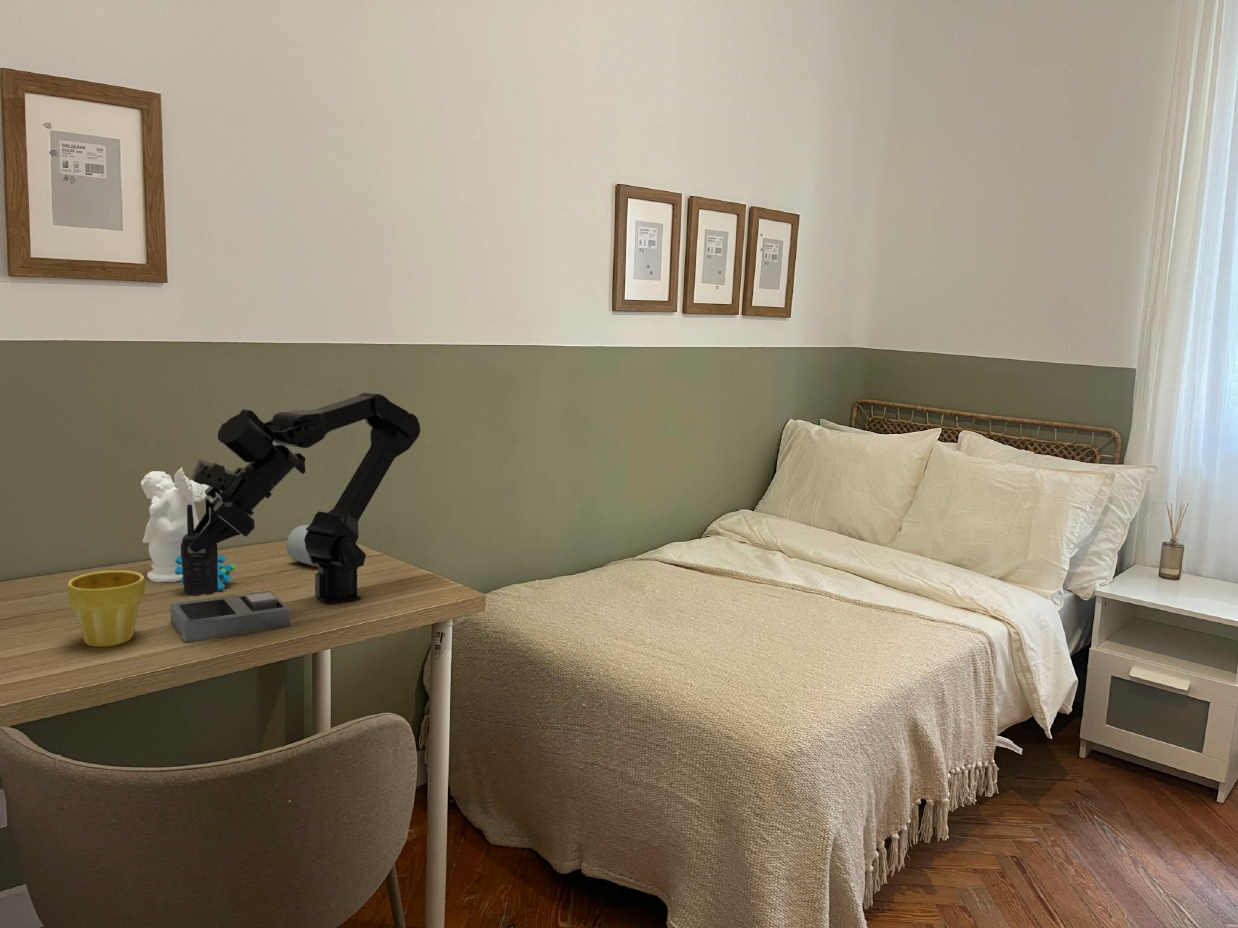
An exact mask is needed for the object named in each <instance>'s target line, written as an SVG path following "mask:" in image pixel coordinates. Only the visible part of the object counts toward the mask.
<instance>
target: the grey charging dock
mask: <svg viewBox="0 0 1238 928" xmlns="http://www.w3.org/2000/svg"><path fill="white" fill-rule="evenodd" d="M269 592H270V593H271V594H272V595H274V596H275V597H276V598H277V608H274V609H267V610H260V611H252V610H251V609H250V608H249V607H248V606H247V605H246V595H254V594H261V593H269ZM169 605H170V606H169V607H170V608H169V609H170V622H171V624H172V625H173V626H174V628H175V629H176V631H177V632H178V634H179V636H180V637H181V638H182V641H184V643H192V642H200V641H204V640H205V641H207V640H211V639H218V638H219V639H220V638H224V637H230V635H231V636H236V635H237V636H239V635H243V634H242V633H245V634H250V633H251V634H252V633H256V632H263V631H262V630H265V631H269V629H271V630H276V629H282V628H283V627H284V628H291V609H290V608H289V606H288V605H286V604H285V603H284V602H283V601H282V600H281V599H280V598H279V597H278V596H276V594H275V593H273V591H272V590H264V591H256V592H247V593H242V594H241V593H240V594H234V595H233V594H232V595H227V596H226V595H225V596H218V597H217V596H216V597H210V598H202V599H193V600H185V601H180V602H171V603H169ZM284 628H283V629H284Z"/></svg>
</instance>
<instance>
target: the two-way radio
mask: <svg viewBox="0 0 1238 928" xmlns="http://www.w3.org/2000/svg"><path fill="white" fill-rule="evenodd" d="M204 527H205V526H204ZM204 527H202V530H203V528H204ZM187 532H188V534H186V535H185V536H184V537H183V539H182V544H181V558H182V572H183V583H184V585H183V592H184V594H185V595H189V596H190V595H213V594H216V592H218V591H217V589H218V564H219V562H217V557H219V555H218V543H216V544H214V545H212V546H209V547H207V548H205V549H202V550H200V551H198V552H193V551H192V550H190V547H191V545H192V544H193V542H194V541H195V539H196V538H197V537H198V535H199V534H200V532H201V531H200V532H199V533H194V521H193V509H192V505H191V504H189V505H187Z"/></svg>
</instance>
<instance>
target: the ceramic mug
mask: <svg viewBox="0 0 1238 928" xmlns="http://www.w3.org/2000/svg"><path fill="white" fill-rule="evenodd" d="M308 526H309V524H308V525H307V524H304V525H302V524H301V525H298V526H297V527H296V528H294V529H293V530H291V532H290V534H289V535H288V537H287V540H286V552H287V555H288V556H289V558H290V559H292V560H293V561H295V562H298V563H301V564H305V565H309V566H311V567H316V568H318V564H313V563H311V560H310V557H309V554H308V552H307V550H306V547H305V542H304V539H305V536H306V534H307V532H308V530H306V528H307V527H308Z"/></svg>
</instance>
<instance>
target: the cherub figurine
mask: <svg viewBox="0 0 1238 928" xmlns="http://www.w3.org/2000/svg"><path fill="white" fill-rule="evenodd" d="M173 479H174V482H173V480H172V476H171V475H170V474H167V473H166V472H165V471H160V470H159V471H157V470H155V471H154V470H153V471H150V472H148V473H147V474H145V475H144V477H143V479H142V480H141V481H140V486H141V488H142V491H143V493H144V494H145V495H146V496H145V497H146V499H150V501H151V504H150V506H149V508H148V509H149V515H150V517H149V519H148V522H147V524H146V527H145V532H144V536H143V539H142V543H144V544H146V543H149V544H148V555H149V557H150V559H151V560H152V562H153V563H151V564H150V565H151V566H150V567H151V568H152V570H149V571H148V572H147V574H146V576H147V578H148V580H150V581H151V582H156V583H176V582H181V581H180V580H181V578H182V577H183V574H180V575H177V574H175V570H176V568H177V566H180V567H182V565H180V564H177V563H175V561H176V559H177V558H178V557H179V556H181V544H182V539H183V537H184V536H185V535H186V534H188V532H187V505H189V504H191V505H192V509H193V521H194V529H195V527H196V526H197V524H198V523H199V521H200V519H199V518H198V515H197V508H196V505H195V503H198V502H200V503H201V502H203V501H204V498H205V497H206V498H207V495H206V493H205V492H204V491H205V490H206V489H207V488H208V487H209V486H208V485H205V484H202V485H201V484H198V483H196V482H194V481H193V480H192V479H191V480H190V479H189V478H188V476H186V475H185V471H183V467H181V468H179V469H178V470H177V471H176V472H175V473H174V476H173Z"/></svg>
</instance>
